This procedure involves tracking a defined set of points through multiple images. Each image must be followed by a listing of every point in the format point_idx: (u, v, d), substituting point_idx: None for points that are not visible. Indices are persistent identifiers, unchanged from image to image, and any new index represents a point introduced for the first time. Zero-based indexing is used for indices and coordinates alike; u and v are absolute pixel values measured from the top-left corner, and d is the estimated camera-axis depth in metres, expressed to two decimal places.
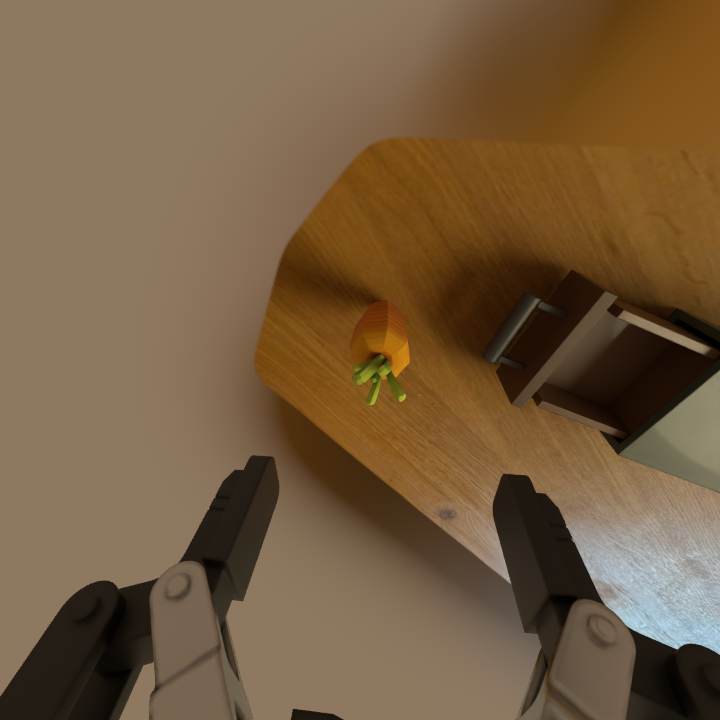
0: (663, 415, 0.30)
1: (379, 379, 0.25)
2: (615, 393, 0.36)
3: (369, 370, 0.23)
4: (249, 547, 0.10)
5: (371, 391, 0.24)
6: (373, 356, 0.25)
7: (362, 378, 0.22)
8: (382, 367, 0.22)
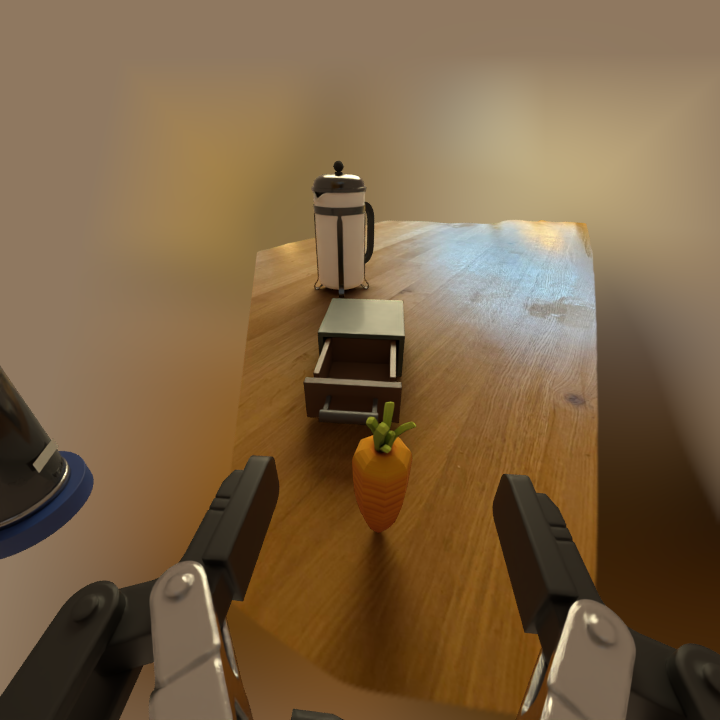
0: (368, 335, 0.51)
1: None
2: (378, 365, 0.54)
3: None
4: (249, 546, 0.10)
5: (401, 428, 0.25)
6: (380, 454, 0.26)
7: None
8: (367, 421, 0.25)
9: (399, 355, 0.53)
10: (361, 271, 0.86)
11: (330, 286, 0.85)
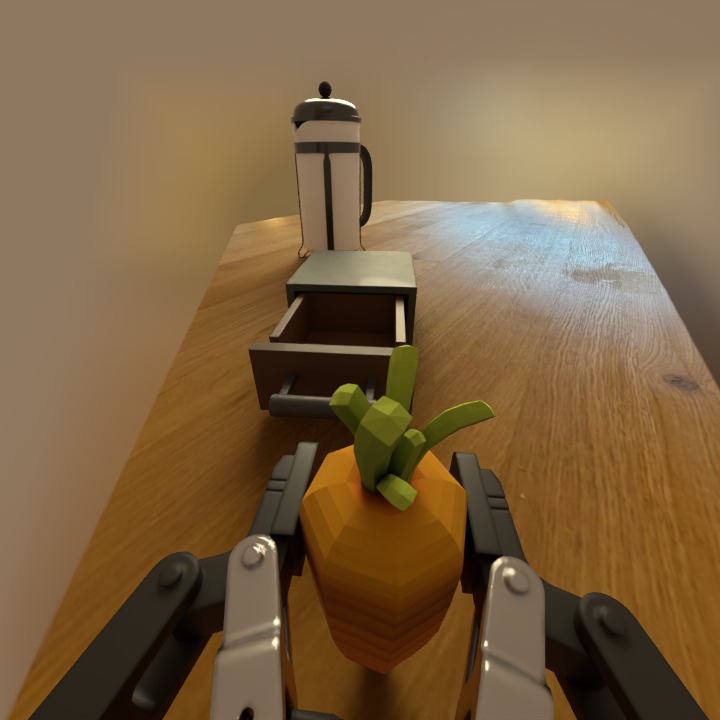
0: (361, 286, 0.34)
1: None
2: (377, 334, 0.37)
3: None
4: None
5: (447, 423, 0.08)
6: (379, 500, 0.09)
7: None
8: (332, 400, 0.07)
9: (408, 319, 0.35)
10: (356, 232, 0.68)
11: None
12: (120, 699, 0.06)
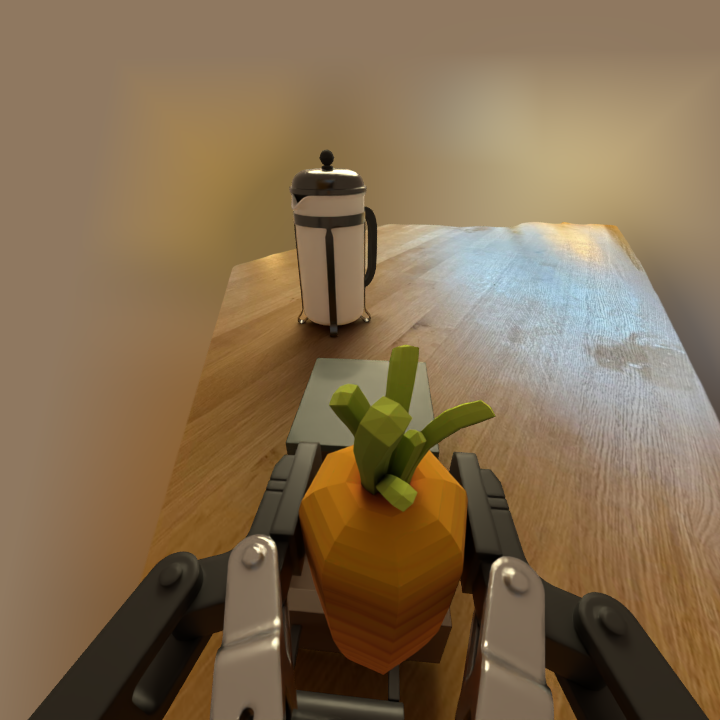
0: None
1: None
2: None
3: None
4: None
5: (447, 423, 0.08)
6: (379, 501, 0.09)
7: None
8: (332, 400, 0.07)
9: None
10: (360, 300, 0.63)
11: (318, 321, 0.63)
12: (120, 699, 0.06)
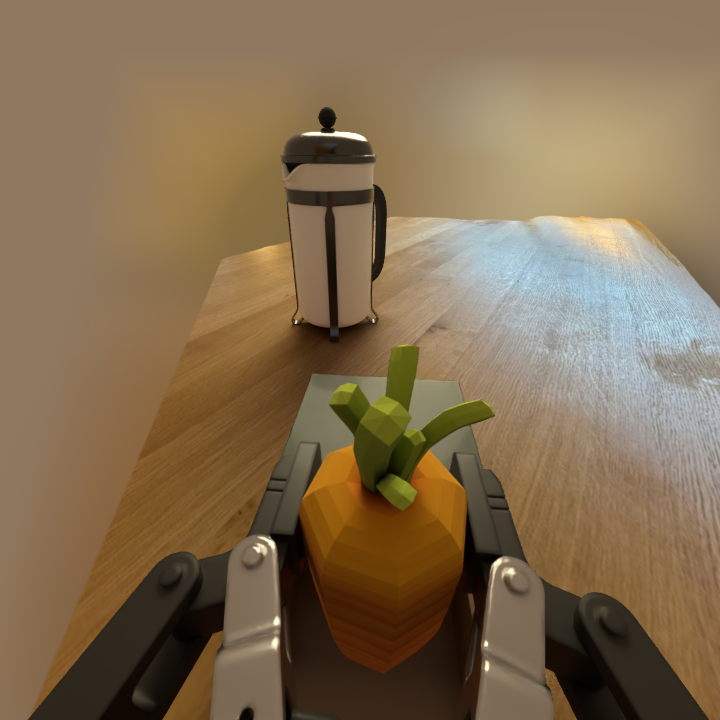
0: None
1: None
2: None
3: None
4: None
5: (447, 422, 0.08)
6: (379, 500, 0.09)
7: None
8: (332, 399, 0.07)
9: None
10: (367, 298, 0.53)
11: (316, 323, 0.52)
12: (120, 699, 0.06)
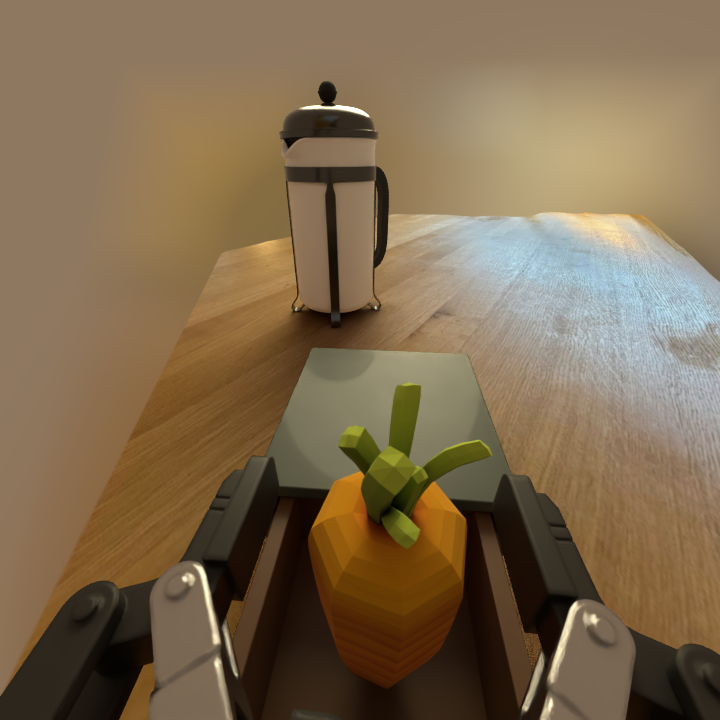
0: None
1: None
2: None
3: None
4: (249, 546, 0.10)
5: (448, 461, 0.08)
6: (384, 531, 0.09)
7: (380, 458, 0.07)
8: (341, 441, 0.08)
9: None
10: (369, 282, 0.51)
11: (317, 308, 0.51)
12: None
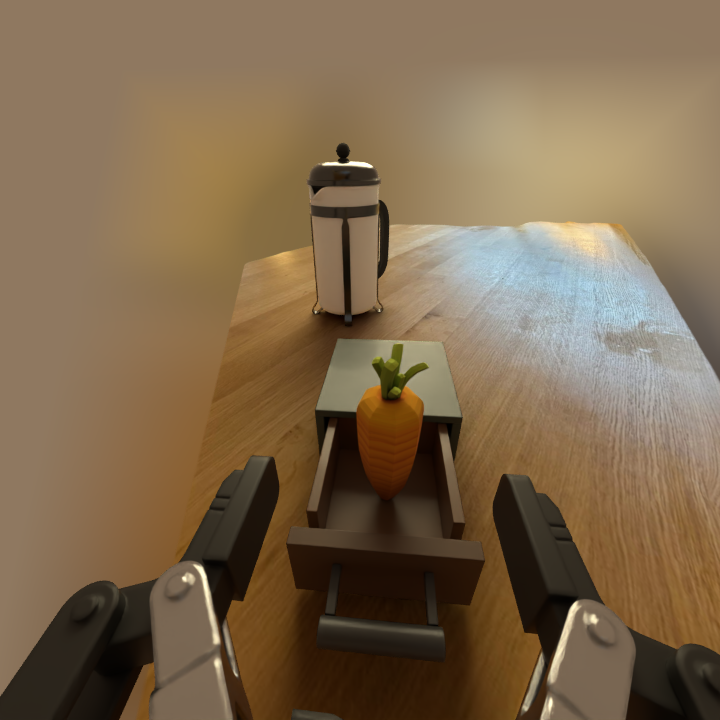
0: None
1: None
2: (415, 457, 0.33)
3: None
4: (249, 546, 0.10)
5: (412, 370, 0.22)
6: (388, 401, 0.23)
7: None
8: (372, 362, 0.22)
9: (451, 445, 0.32)
10: (374, 291, 0.65)
11: (333, 311, 0.64)
12: None
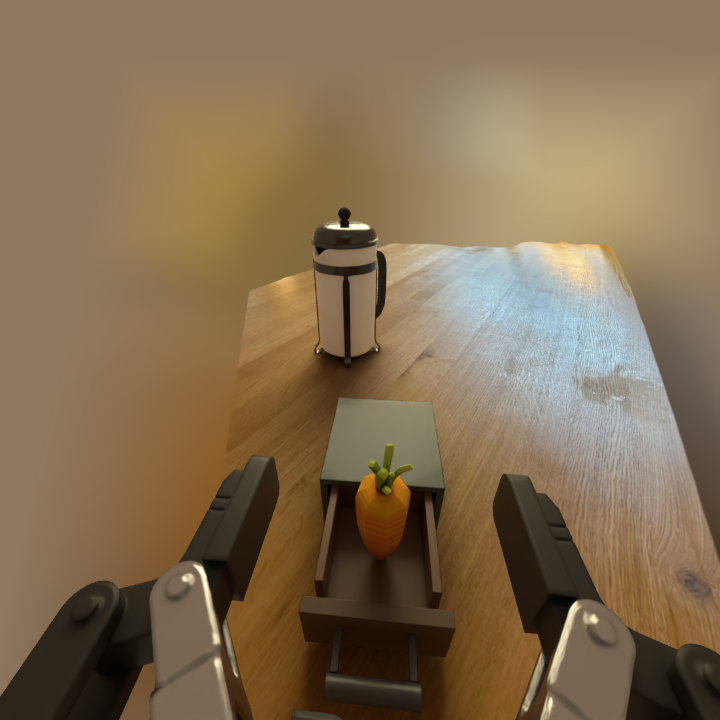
0: None
1: None
2: None
3: None
4: (249, 546, 0.10)
5: (401, 471, 0.28)
6: (381, 493, 0.28)
7: (380, 470, 0.26)
8: (369, 465, 0.27)
9: (435, 508, 0.37)
10: (371, 334, 0.70)
11: (334, 353, 0.70)
12: None
